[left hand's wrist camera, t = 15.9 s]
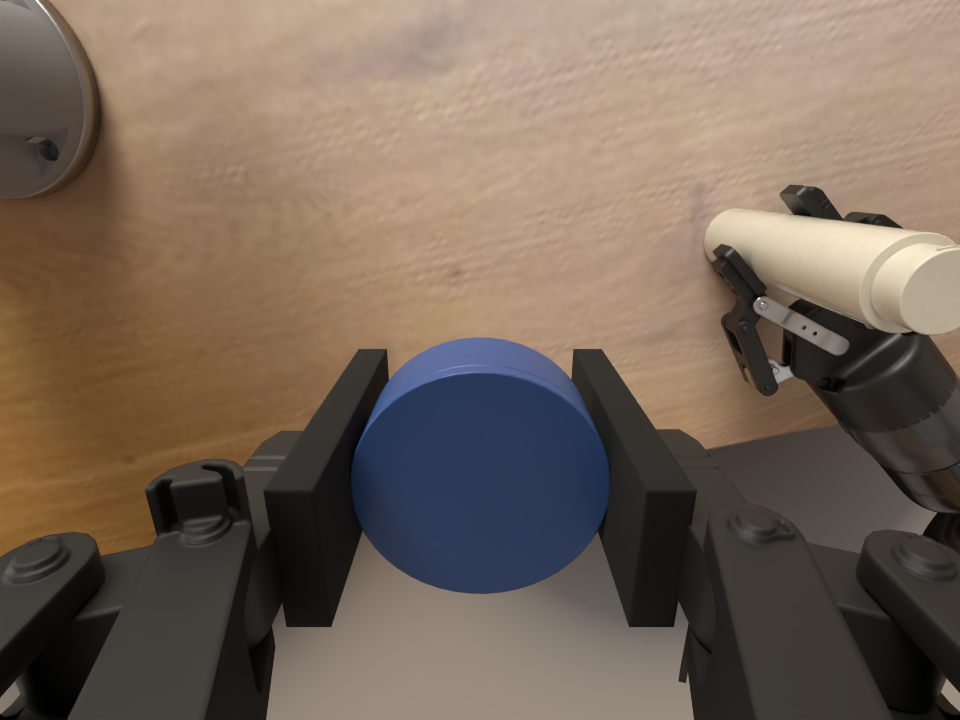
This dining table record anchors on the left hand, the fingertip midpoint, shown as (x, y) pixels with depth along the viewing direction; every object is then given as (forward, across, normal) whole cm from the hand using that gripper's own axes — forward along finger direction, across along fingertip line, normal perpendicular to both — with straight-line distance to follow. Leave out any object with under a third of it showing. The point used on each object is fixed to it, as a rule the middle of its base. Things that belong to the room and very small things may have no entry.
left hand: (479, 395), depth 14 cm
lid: (-4, 0, 0) cm, 4 cm away
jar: (+27, +20, +1) cm, 34 cm away
